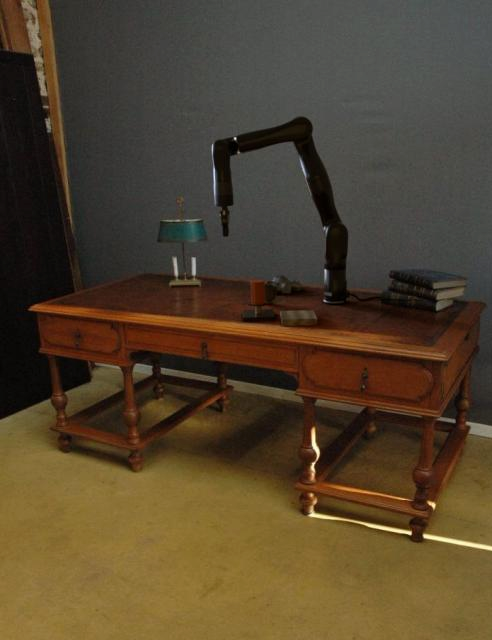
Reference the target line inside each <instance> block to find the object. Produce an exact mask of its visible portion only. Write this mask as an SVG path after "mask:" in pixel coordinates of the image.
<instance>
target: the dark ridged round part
mask: <svg viewBox="0 0 492 640" xmlns="http://www.w3.org/2000/svg"><path fill="white" fill-rule="evenodd" d="M276 292H277V285H272V284H271V285H270V284H268V286H267V284H266V285H265V301H266V302H268V303H269V304H268V305H267V306H271V305H273V303H274V300H275V299H276V297H277V294H276Z"/></svg>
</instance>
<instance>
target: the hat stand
mask: <svg viewBox="0 0 492 640" xmlns="http://www.w3.org/2000/svg"><path fill="white" fill-rule="evenodd" d="M254 308H255V309H242V317H243V318H242V320H243V322H269V321H275V320H276V319H275V313H274V309H273V308H267V309H266V308H265V309H264V308H263V309H262V306H254Z"/></svg>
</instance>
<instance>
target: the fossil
mask: <svg viewBox="0 0 492 640" xmlns="http://www.w3.org/2000/svg"><path fill="white" fill-rule="evenodd" d="M266 284H267V286H268V284H270V285H271V284H272V285H277V292H276V295H278V293H279V292H281V293H282V295H290V294H292V291H293V292H300V291H301V290H303V289H302V288H303V284H301V282H299V281H297V280H294V279H293V280H289V277H286V276H285V275H284V274H282V275H275V276H274V277H273V279H272V280H267V281H265V285H266Z"/></svg>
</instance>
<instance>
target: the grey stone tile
mask: <svg viewBox="0 0 492 640" xmlns="http://www.w3.org/2000/svg"><path fill="white" fill-rule="evenodd" d="M279 315H280V317H279V318H280V322H281V325H282V327H294V326H297V327H298V326H299V327H300V326H318V317H317V315H316V313H315V311H314V309H306V310H305V309H304V310H280V311H279Z"/></svg>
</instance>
